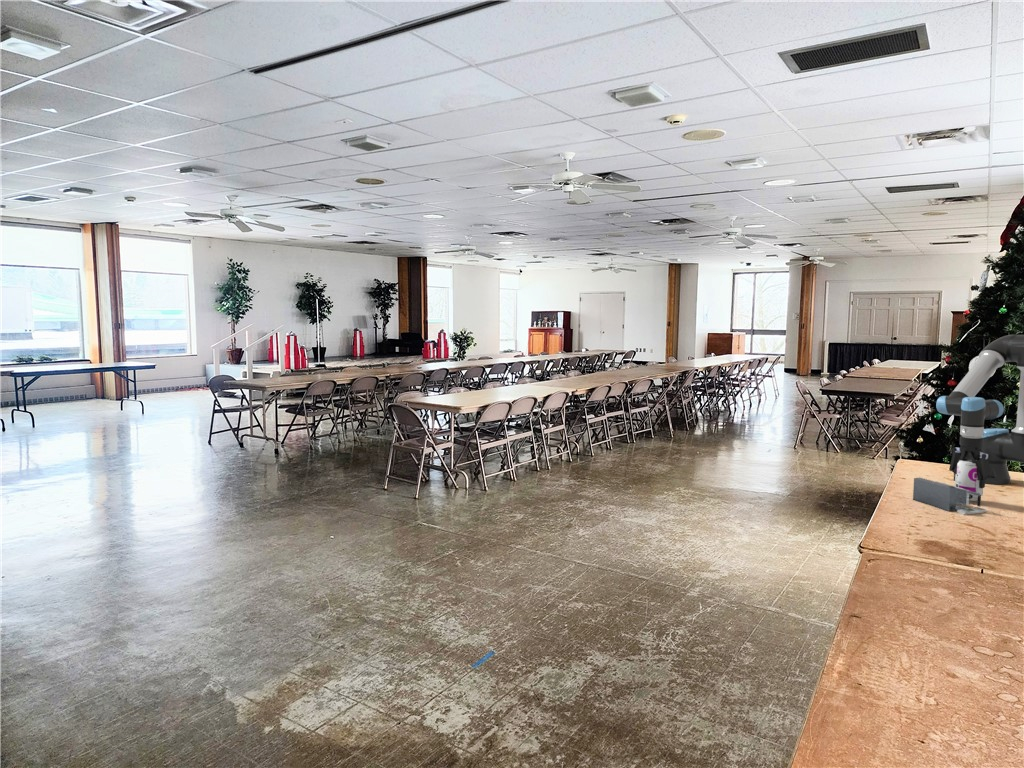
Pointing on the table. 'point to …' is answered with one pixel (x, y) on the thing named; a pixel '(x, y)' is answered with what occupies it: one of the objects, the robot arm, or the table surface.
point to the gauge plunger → (964, 496)
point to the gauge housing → (940, 496)
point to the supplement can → (967, 477)
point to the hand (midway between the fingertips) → (968, 492)
